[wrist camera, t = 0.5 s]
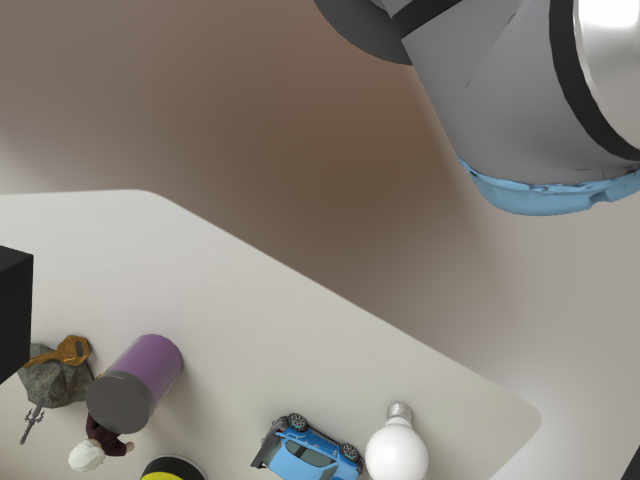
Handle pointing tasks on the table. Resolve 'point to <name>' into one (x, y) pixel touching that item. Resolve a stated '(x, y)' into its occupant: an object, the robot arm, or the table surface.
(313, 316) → the table surface
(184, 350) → the table surface
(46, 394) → the sword in stone
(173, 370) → the jar
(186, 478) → the flashlight
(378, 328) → the table surface
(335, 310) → the table surface
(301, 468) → the toy car
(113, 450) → the grandmother figurine
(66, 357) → the key
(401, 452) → the lightbulb
